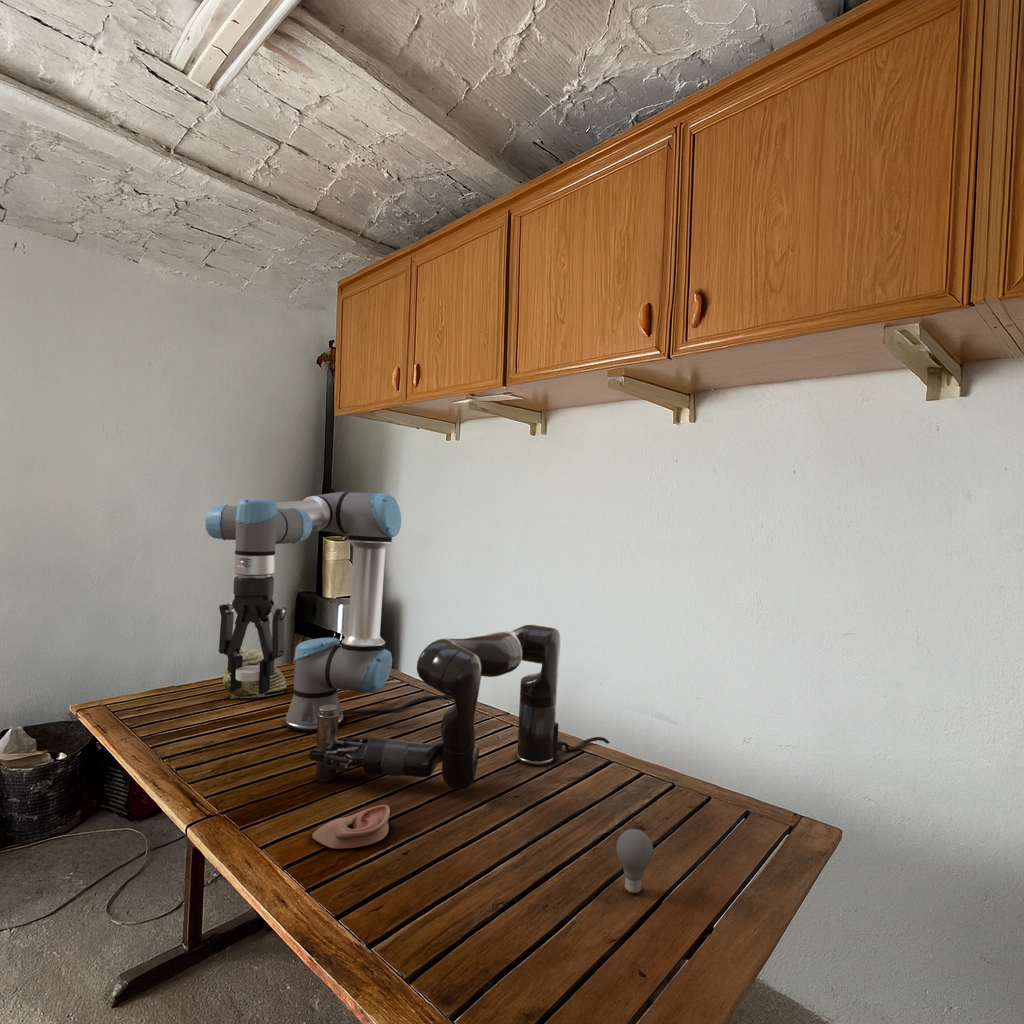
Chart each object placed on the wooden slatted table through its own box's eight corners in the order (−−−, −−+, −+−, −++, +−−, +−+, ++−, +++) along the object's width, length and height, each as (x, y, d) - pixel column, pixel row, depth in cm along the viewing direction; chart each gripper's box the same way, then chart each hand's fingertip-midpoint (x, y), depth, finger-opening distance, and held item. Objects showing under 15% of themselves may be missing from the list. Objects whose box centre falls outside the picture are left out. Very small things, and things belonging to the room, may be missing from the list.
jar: (311, 778, 142) (314, 707, 142) (328, 771, 146) (331, 702, 146) (323, 784, 140) (325, 712, 139) (340, 778, 143) (343, 707, 143)
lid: (247, 683, 124) (248, 674, 124) (229, 678, 126) (229, 669, 126) (271, 677, 128) (271, 668, 128) (253, 672, 131) (253, 664, 131)
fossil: (218, 695, 195) (220, 647, 195) (278, 685, 208) (279, 640, 207) (228, 703, 189) (230, 653, 188) (289, 692, 201) (290, 645, 201)
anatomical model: (304, 822, 115) (334, 794, 126) (303, 844, 115) (333, 813, 126) (372, 833, 112) (397, 803, 124) (371, 855, 113) (396, 823, 124)
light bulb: (610, 879, 108) (613, 822, 108) (644, 879, 109) (647, 822, 109) (619, 902, 102) (622, 840, 102) (655, 901, 103) (658, 840, 103)
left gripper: (200, 574, 125) (196, 691, 125) (287, 580, 122) (282, 700, 122) (224, 570, 132) (219, 681, 133) (306, 576, 129) (302, 689, 130)
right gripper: (398, 728, 148) (328, 722, 150) (378, 752, 134) (301, 745, 136) (397, 760, 148) (327, 754, 150) (377, 787, 134) (300, 780, 136)
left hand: (250, 690), depth 127 cm, fingers closed on lid, 5 cm apart
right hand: (315, 750), depth 143 cm, fingers closed on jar, 4 cm apart
